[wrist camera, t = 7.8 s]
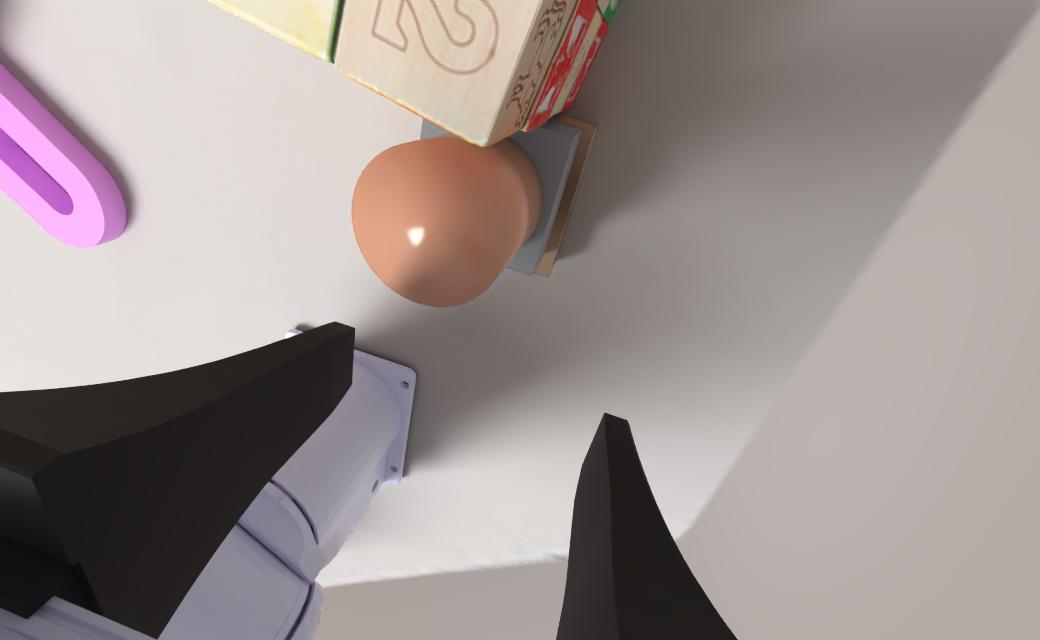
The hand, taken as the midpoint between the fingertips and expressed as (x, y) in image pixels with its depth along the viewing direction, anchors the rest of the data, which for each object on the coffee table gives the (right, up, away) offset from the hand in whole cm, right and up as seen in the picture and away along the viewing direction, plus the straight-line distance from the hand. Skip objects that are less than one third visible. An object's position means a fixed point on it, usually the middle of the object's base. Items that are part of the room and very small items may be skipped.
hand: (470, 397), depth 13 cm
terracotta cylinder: (0, +6, +3) cm, 7 cm away
